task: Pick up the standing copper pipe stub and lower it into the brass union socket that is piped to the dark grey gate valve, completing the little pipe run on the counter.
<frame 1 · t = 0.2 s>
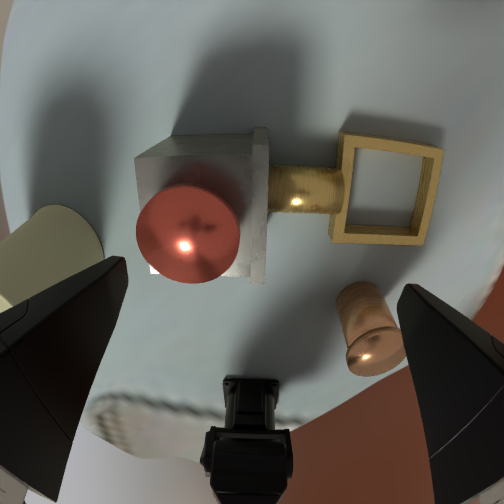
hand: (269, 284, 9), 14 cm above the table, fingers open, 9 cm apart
valve: (212, 181, 22), on the table
socket: (383, 188, 22), on the table
can: (65, 247, 26), on the table
stub: (358, 300, 27), on the table
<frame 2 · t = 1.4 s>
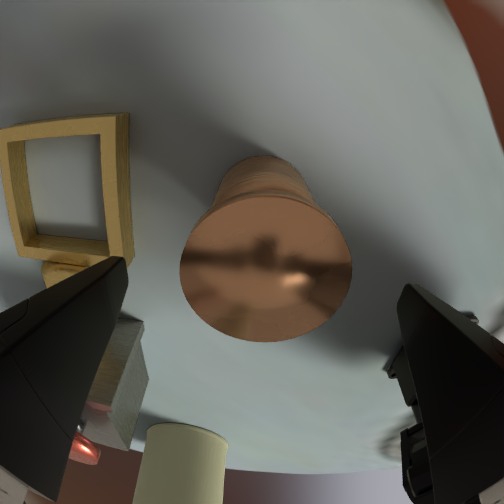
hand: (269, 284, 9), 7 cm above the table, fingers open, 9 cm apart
valve: (102, 348, 21), on the table
socket: (68, 187, 15), on the table
can: (187, 439, 29), on the table
stub: (263, 199, 15), on the table
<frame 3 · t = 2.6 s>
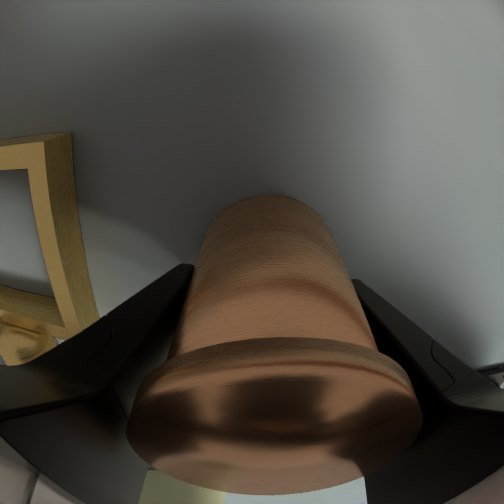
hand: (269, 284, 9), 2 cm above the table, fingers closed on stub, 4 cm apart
valve: (80, 404, 17), on the table
socket: (11, 232, 10), on the table
can: (182, 482, 24), on the table
stub: (268, 258, 10), on the table, touching gripper
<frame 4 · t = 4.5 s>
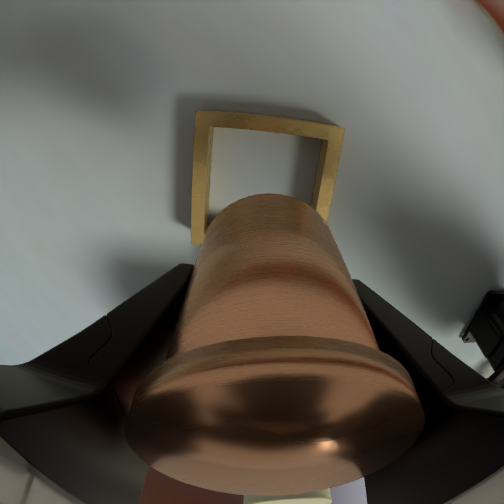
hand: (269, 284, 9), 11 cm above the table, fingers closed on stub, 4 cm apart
socket: (262, 179, 19), on the table
can: (283, 420, 33), on the table
stub: (268, 257, 10), point 9 cm above the table, touching gripper
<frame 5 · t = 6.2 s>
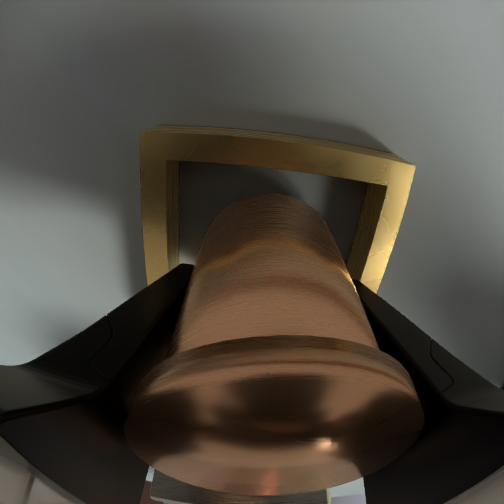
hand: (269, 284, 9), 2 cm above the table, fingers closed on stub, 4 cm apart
valve: (239, 421, 18), on the table
socket: (266, 244, 11), on the table
stub: (268, 256, 10), point 1 cm above the table, touching gripper
when the fingers open (2 cm above the table, at t = 6.3 s): stub stays where it is, resting in socket.
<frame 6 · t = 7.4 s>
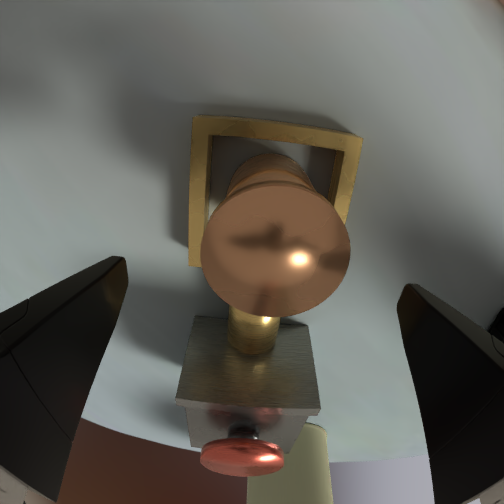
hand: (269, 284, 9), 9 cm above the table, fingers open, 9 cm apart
valve: (247, 356, 23), on the table
socket: (268, 194, 17), on the table
can: (287, 437, 31), on the table
stub: (270, 193, 17), resting in socket
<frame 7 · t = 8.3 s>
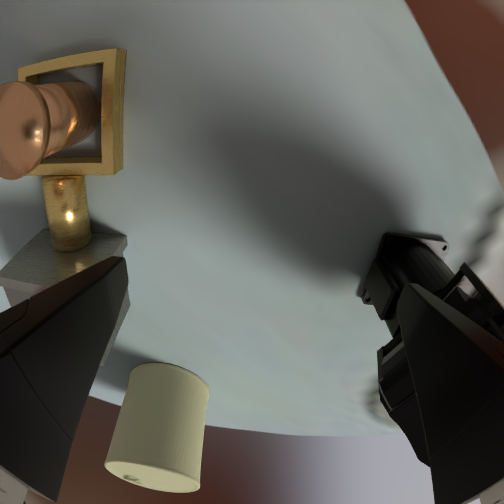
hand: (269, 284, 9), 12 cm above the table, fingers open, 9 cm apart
valve: (88, 272, 23), on the table
socket: (71, 113, 17), on the table
can: (169, 386, 31), on the table
stub: (72, 112, 17), resting in socket
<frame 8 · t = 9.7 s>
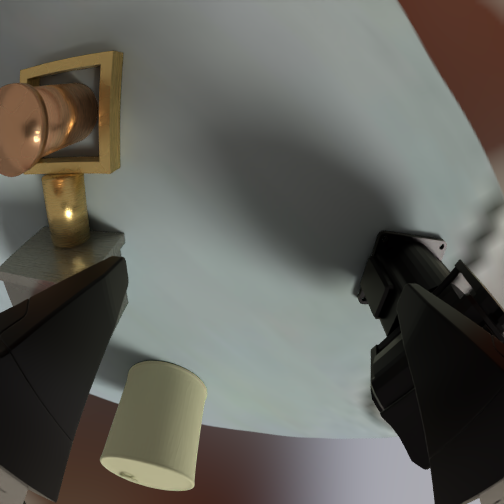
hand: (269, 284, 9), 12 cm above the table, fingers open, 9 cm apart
valve: (88, 269, 24), on the table
socket: (71, 113, 17), on the table
can: (167, 384, 31), on the table
stub: (72, 113, 17), resting in socket
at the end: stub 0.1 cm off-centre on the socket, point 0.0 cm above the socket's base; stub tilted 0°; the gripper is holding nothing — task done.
